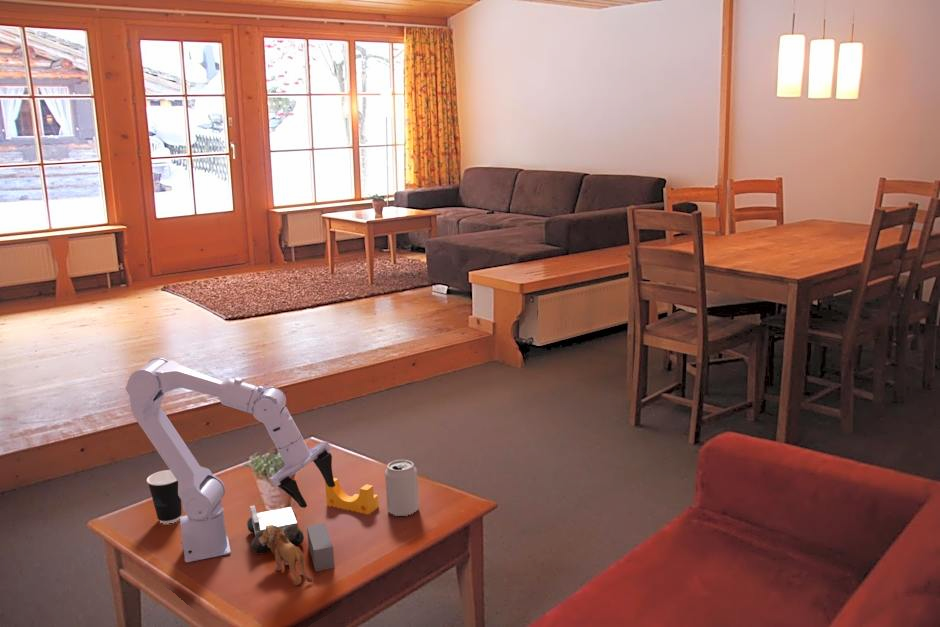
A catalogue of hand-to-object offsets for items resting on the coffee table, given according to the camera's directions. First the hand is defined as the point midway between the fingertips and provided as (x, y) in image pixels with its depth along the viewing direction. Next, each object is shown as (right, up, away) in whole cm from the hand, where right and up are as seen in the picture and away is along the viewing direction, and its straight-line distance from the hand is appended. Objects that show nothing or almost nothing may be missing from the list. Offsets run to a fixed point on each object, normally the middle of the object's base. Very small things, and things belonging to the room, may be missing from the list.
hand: (318, 496), depth 183 cm
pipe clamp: (+4, -8, +23) cm, 24 cm away
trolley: (-11, -11, +8) cm, 18 cm away
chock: (+1, -13, 0) cm, 13 cm away
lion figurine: (-5, -15, -6) cm, 17 cm away
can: (+17, -8, +19) cm, 27 cm away
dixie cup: (-39, -10, +19) cm, 44 cm away
